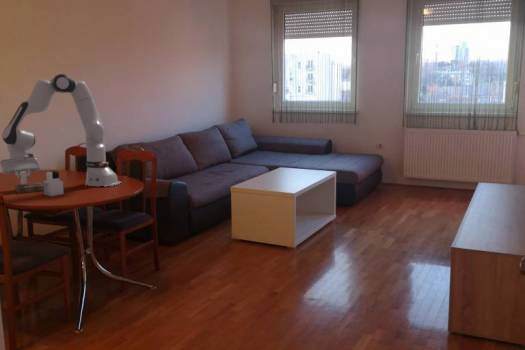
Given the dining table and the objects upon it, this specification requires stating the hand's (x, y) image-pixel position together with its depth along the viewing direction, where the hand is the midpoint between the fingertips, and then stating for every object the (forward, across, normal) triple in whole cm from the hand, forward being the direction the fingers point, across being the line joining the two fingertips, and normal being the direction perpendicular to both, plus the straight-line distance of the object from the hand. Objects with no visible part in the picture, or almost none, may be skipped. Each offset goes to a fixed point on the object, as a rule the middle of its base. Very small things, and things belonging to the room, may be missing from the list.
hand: (23, 177), depth 306 cm
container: (+18, +12, -7) cm, 23 cm away
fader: (+3, 0, +4) cm, 5 cm away
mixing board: (+5, +6, +6) cm, 10 cm away
